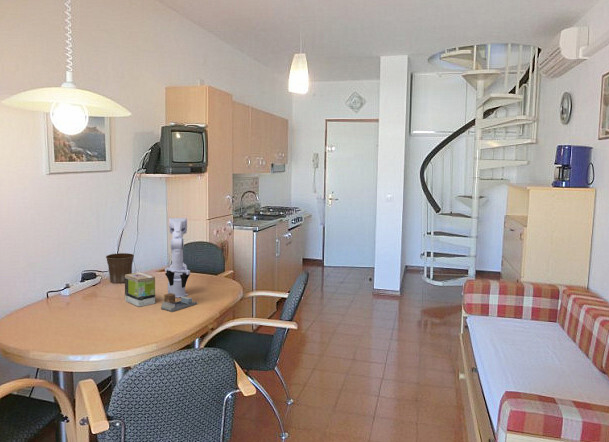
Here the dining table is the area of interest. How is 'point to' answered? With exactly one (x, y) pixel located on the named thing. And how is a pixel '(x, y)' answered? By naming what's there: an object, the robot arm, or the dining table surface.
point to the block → (169, 298)
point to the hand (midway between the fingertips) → (177, 286)
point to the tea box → (140, 289)
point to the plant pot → (119, 266)
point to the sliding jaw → (186, 300)
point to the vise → (176, 306)
